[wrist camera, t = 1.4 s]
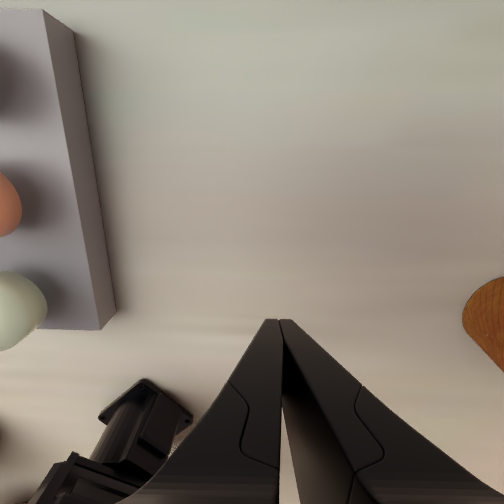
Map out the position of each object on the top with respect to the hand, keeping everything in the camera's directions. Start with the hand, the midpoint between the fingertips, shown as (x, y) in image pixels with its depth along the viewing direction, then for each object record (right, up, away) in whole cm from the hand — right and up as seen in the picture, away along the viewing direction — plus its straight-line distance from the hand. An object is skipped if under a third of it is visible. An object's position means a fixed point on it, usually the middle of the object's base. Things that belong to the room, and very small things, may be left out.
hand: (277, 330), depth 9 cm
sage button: (-16, -1, +9) cm, 19 cm away
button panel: (-16, +7, +10) cm, 20 cm away
